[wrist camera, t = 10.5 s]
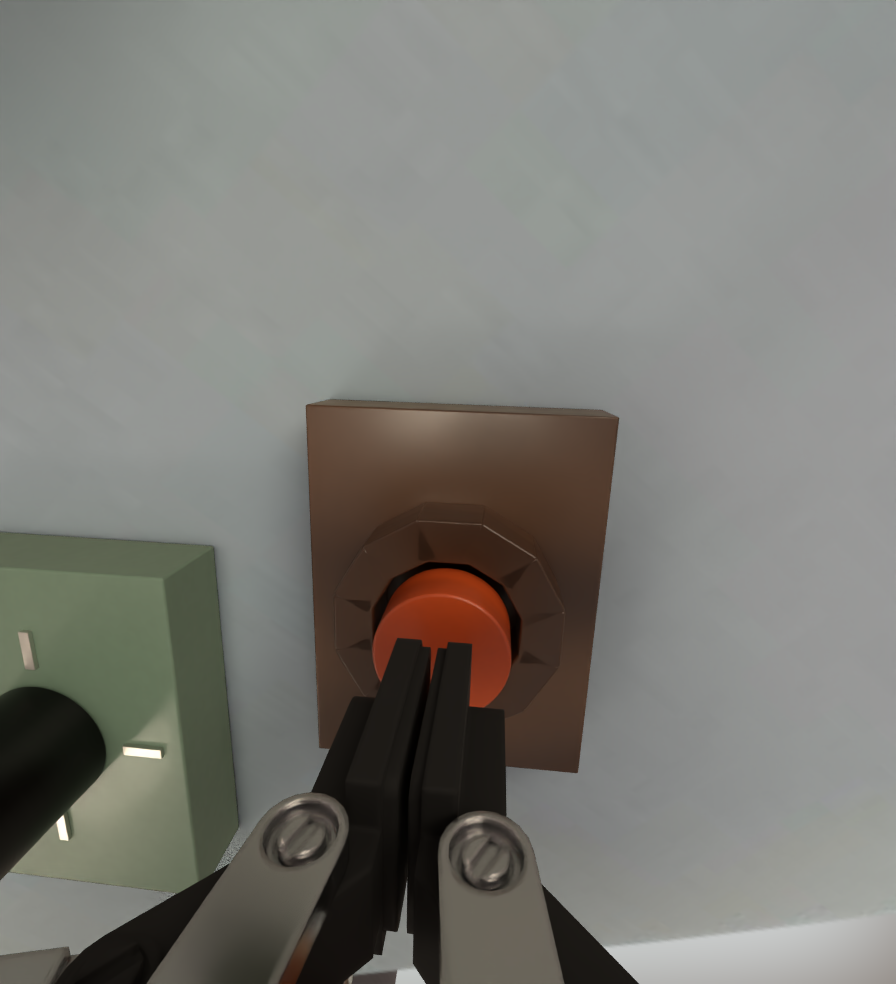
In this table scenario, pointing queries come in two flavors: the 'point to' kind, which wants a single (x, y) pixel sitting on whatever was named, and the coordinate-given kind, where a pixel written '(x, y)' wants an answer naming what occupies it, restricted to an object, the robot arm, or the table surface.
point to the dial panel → (127, 702)
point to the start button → (450, 626)
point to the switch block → (463, 545)
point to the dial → (42, 765)
